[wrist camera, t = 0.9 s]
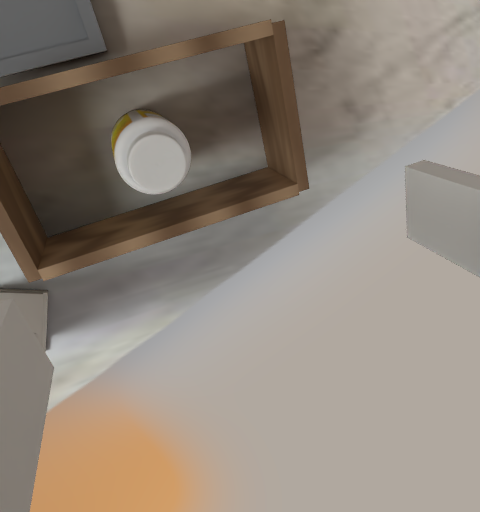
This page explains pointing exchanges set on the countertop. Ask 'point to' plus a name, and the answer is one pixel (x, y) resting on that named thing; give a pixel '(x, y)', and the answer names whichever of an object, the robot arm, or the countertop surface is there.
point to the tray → (46, 33)
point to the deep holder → (180, 207)
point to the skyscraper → (31, 309)
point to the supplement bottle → (150, 152)
